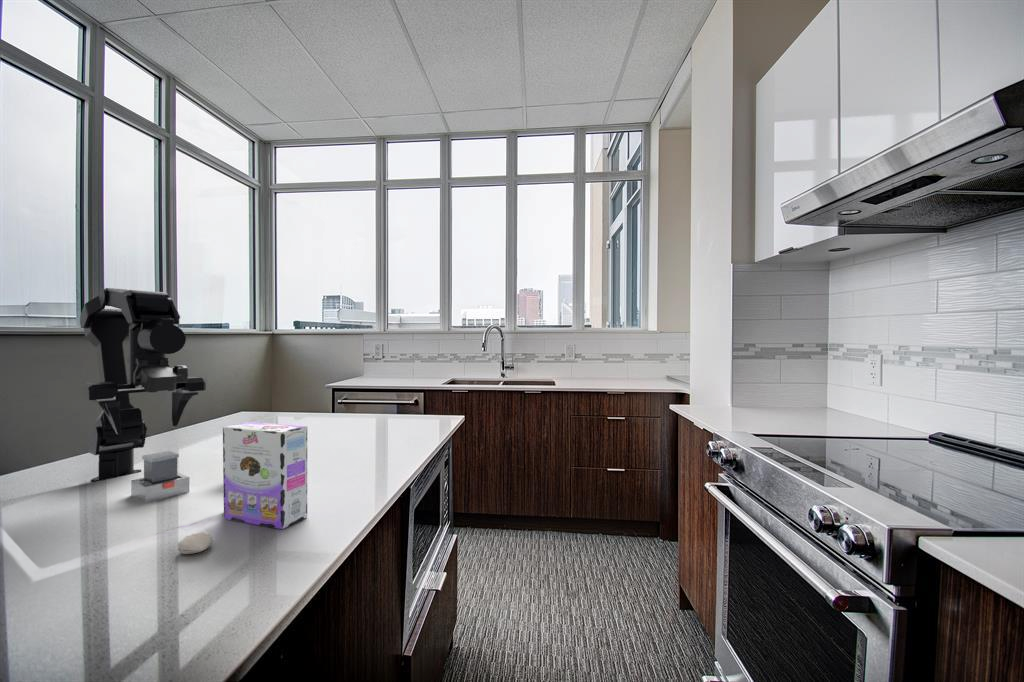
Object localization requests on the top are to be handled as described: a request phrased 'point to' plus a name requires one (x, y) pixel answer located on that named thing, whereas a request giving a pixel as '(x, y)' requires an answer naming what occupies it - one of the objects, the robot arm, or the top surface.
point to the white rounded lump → (195, 543)
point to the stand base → (159, 488)
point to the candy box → (265, 473)
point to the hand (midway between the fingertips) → (147, 429)
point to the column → (160, 467)
